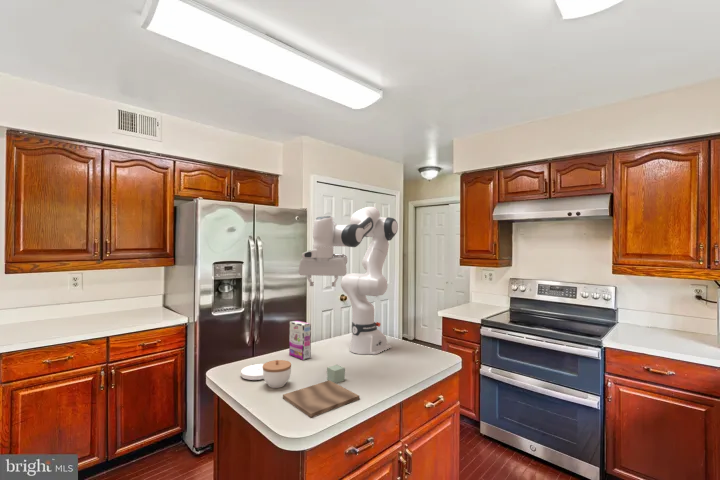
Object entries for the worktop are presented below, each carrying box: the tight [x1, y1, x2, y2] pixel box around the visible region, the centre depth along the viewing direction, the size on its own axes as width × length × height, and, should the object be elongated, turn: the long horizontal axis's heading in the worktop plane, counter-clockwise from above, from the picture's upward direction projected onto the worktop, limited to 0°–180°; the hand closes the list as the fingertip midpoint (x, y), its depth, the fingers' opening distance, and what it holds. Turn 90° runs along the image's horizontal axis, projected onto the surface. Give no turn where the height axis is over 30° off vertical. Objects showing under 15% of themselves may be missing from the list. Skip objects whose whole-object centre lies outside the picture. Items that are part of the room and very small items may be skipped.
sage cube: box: [326, 364, 346, 384], centre depth 139 cm, size 5×5×5 cm
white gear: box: [240, 363, 265, 381], centre depth 144 cm, size 14×14×2 cm
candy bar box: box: [288, 320, 312, 361], centre depth 167 cm, size 11×5×16 cm, turn 47°
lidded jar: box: [263, 359, 292, 389], centre depth 134 cm, size 11×11×9 cm
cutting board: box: [282, 380, 360, 418], centre depth 122 cm, size 20×18×1 cm
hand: (322, 286), depth 148 cm, fingers open, 8 cm apart
